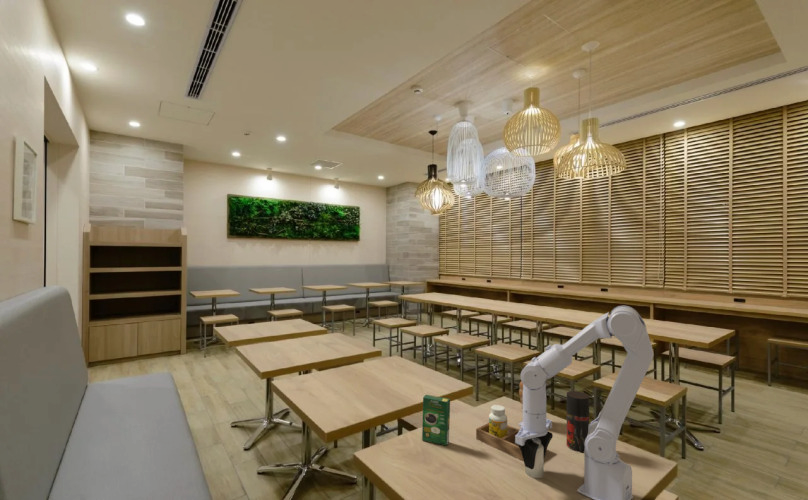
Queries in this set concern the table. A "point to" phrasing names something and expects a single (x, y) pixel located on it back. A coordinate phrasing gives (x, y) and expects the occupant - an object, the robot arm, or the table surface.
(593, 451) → the robot arm
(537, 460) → the shaker
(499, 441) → the caddy
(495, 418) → the supplement bottle
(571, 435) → the deodorant
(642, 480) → the table surface
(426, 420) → the coffee box
